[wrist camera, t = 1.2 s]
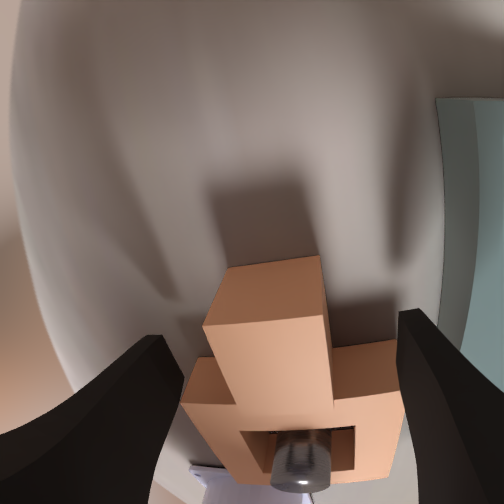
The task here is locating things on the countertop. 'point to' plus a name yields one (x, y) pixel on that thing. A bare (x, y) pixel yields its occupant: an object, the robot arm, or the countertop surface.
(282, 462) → the grey metal cylinder
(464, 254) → the tray
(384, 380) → the collar
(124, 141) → the countertop surface
